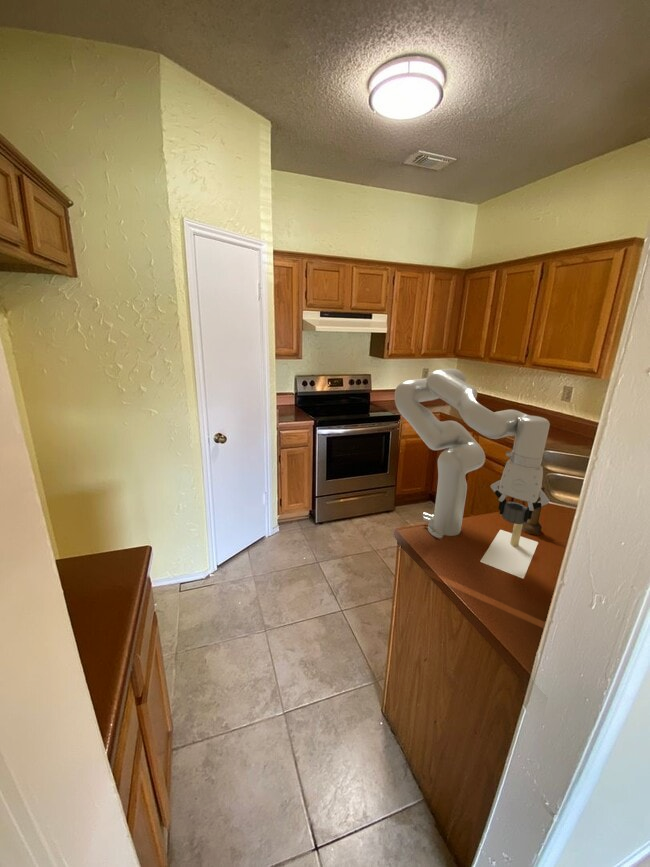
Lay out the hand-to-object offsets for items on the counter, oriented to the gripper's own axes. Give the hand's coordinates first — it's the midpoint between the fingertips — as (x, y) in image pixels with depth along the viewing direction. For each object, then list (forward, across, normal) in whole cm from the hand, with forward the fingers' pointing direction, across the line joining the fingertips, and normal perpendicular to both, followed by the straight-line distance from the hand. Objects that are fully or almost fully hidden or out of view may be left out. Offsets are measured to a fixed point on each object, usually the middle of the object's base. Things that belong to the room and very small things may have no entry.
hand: (513, 515), depth 107 cm
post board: (+17, 0, +6) cm, 18 cm away
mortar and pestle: (+17, +2, +28) cm, 33 cm away
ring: (+1, 0, 0) cm, 1 cm away
